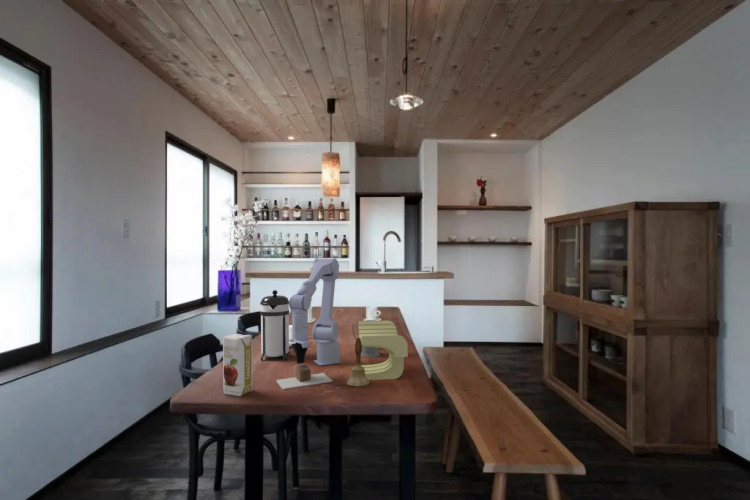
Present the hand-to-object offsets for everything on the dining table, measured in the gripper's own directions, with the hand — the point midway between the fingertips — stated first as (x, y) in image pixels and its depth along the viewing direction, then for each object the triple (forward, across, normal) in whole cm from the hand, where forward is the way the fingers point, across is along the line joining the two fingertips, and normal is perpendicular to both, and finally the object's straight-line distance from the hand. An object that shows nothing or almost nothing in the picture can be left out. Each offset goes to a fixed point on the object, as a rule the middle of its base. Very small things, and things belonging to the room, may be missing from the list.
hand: (300, 363), depth 148 cm
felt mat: (+5, +5, 0) cm, 7 cm away
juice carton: (+6, +6, -23) cm, 24 cm away
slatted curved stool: (+6, +10, +29) cm, 31 cm away
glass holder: (+6, -20, +36) cm, 41 cm away
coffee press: (+6, -34, -2) cm, 35 cm away
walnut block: (+3, -1, 0) cm, 3 cm away
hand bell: (+6, +16, +17) cm, 24 cm away
